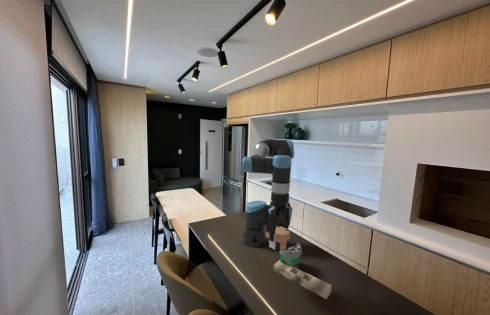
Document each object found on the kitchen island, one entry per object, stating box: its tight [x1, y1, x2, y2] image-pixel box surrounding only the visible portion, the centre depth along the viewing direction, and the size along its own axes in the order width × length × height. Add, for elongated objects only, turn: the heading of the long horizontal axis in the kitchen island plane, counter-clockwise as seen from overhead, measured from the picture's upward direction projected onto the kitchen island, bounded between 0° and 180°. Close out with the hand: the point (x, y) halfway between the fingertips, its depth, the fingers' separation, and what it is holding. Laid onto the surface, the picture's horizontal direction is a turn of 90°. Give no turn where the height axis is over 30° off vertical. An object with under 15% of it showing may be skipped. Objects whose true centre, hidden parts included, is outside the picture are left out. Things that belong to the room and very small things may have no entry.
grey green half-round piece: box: [278, 242, 303, 269], centre depth 95 cm, size 12×6×10 cm, turn 123°
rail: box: [273, 259, 333, 300], centre depth 86 cm, size 24×5×3 cm, turn 48°
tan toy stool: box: [266, 227, 291, 250], centre depth 86 cm, size 8×6×6 cm
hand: (277, 244), depth 86 cm, fingers closed on tan toy stool, 7 cm apart
